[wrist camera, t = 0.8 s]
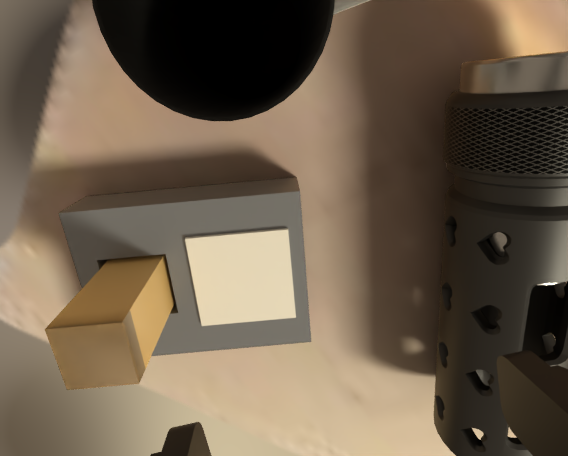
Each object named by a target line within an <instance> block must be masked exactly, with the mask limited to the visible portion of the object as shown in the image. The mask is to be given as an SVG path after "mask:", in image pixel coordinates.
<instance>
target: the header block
mask: <svg viewBox="0 0 568 456" xmlns="http://www.w3.org/2000/svg"><path fill="white" fill-rule="evenodd" d="M59 216H60V220H61V223H62V226H63V229H64V232H65V236H66V239H67V242H68V245H69V248H70V252H71V255H72V258H73V261H74V264H75V268H76V271H77V274H78V277H79V281H80V284H81V287H82V288H83V287H84V286H85V285H86V284H87V283H88V282H89V281H90V280H91V278H92V277H93V276H94V275H95V274H96V273H97V272H98V271H99V270H100V269H101V268H102V266H103V265H104V264H105V263H106V262H107V261H108V260H109V259H116V258H127V257H138V256H149V255H160V254H166V258H167V263H168V267H169V272H170V277H171V281H172V286H173V291H174V295H175V300H176V301H175V303H174V305H173V308H172V310H171V312H170V314H169V317H168V319H167V321H166V323H165V326H164V328H163V330H162V333H161V335H160V337H159V339H158V342H157V344H156V346H155V348H154V351H153V353H152V355H151V356H158V355H169V354H181V353H192V352H203V351H214V350H225V349H237V348H248V347H259V346H270V345H281V344H293V343H304V342H311V332H310V319H309V305H308V292H307V278H306V265H305V252H304V238H303V225H302V211H301V198H300V189H299V185H298V181H297V177H292V178H281V179H270V180H259V181H248V182H237V183H226V184H215V185H204V186H194V187H183V188H172V189H161V190H150V191H139V192H128V193H117V194H106V195H95V196H86V197H84V198H82V199H81V200H79V201H78V202H76V203H74V204H73V205H71V206H70V207H68V208H66V209H65V210H63V211H61V212H60V213H59Z"/></svg>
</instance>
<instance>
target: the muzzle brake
mask: <svg viewBox="0 0 568 456" xmlns="http://www.w3.org/2000/svg"><path fill="white" fill-rule="evenodd" d="M443 159H444V161H445V162H446V163H447V169H448V171H449V172H451V173H452V174H454V175H455V181H454V184H453V185H452V186H451V187H450V188H449V189H448V190H447V193H446V195H445V216H444V235H443V253H442V272H441V290H440V309H439V327H438V346H437V364H436V382H435V401H434V424H435V426H436V429H437V432H438V434H439V435H440V437H441V439H442V441H443V442H444V443H445V444H446V446H447V447H448V448H449V449H450V450H451V451H452V452H453V453H454V454H455V455H456V456H533V455H532V454H531V453H530V452H529V451H528V450H527V448H526V447H525V446H524V445H523V444H522V443H521V441H520V440H519V439H518V438H510V437H508V436H507V435H508V428H509V426H508V424H507V422H506V420H505V417H504V415H503V412H502V408H501V401H500V391H499V382H498V373H497V358H498V357H499V356H502V355H506V354H511V353H515V352H520V351H524V350H530V351H532V352H533V353H535V354H536V355H537V356H538V357H540V358H541V359H542V360H543V361H545V362H546V363H547V364H549V365H550V366H555V365H559V366H561V367H564V368H566V369H568V51H566V52H556V53H546V54H536V55H526V56H517V57H507V58H497V59H488V60H478V61H469V62H464V63H462V65H461V73H460V89H459V90H458V91H455V92H453V93H452V94H451V95H450V97H449V99H448V100H447V102H446V105H445V125H444V146H443ZM566 282H567V284H566ZM553 335H554V336H553ZM554 337H555V338H554ZM555 339H556V341H555ZM472 428H476V429H479V430H481V431H482V432H483V433H484V435H483V436H482V438H481V440H482V441H481V440H479V439H478V438H477V437H476V435H475V433H474V432H473V430H472Z"/></svg>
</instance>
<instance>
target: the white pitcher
mask: <svg viewBox="0 0 568 456" xmlns="http://www.w3.org/2000/svg"><path fill="white" fill-rule="evenodd" d="M367 1H370V0H92V2H93V8H94V11H95V15H96V18H97V21H98V24H99V27H100V31H101V33H102V35H103V37H104V39H105V41H106V43H107V45H108V47H109V49H110V51H111V53H112V55H113V56H114V58H115V59H116V61H117V62H118V63H119V65H120V66H121V68H122V69H123V71H124V72H125V73H126V74H127V75H128V76H129V77H130V79H131V80H132V81H133V82H134V83H135V84H136V85H137V86H138V87H139V88H140V89H141V90H143V91H144V92H145V93H146V94H148V95H149V96H150V97H151V98H153V99H154V100H155V101H157V102H159V103H160V104H162V105H164V106H166V107H167V108H169V109H171V110H173V111H175V112H178V113H181V114H183V115H186V116H189V117H192V118H197V119H203V120H208V121H234V120H239V119H244V118H249V117H252V116H255V115H257V114H260V113H262V112H265V111H268V110H269V109H271V108H273V107H274V106H276V105H277V104H279V103H281V102H282V101H284V100H285V99H286V98H287V97H289V96H290V95H291V94H292V93H293V92H294V91H295V90H296V89H297V88H299V87H300V85H301V84H302V83H303V82H304V80H305V79H306V78H307V77H308V75H309V74H310V73H311V71H312V70H313V68H314V66H315V65H316V63H317V61H318V59H319V57H320V55H321V54H322V52H323V49H324V46H325V43H326V41H327V38H328V35H329V32H330V28H331V23H332V18H333V15H334V14H336V13H339V12H342V11H344V10H347V9H349V8H352V7H355V6H357V5H360V4H362V3H365V2H367Z"/></svg>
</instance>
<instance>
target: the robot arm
mask: <svg viewBox="0 0 568 456" xmlns="http://www.w3.org/2000/svg"><path fill="white" fill-rule="evenodd" d="M497 373H498V382H499V391H500V401H501V408H502V412H503V415H504V417H505V420H506V422H507V424H508V426H509V427H510V429H511V430H512V432H513V433H514V434H515V435H516V437H517V438H518V439H519V440H520V441H521V443H522V444H523V445H524V446H525V447H526V448H527V450H528V451H529V452H530V453H531V454H532V455H533V456H568V369H566V368H564V367H561V366H559V365H555V366H550V365H549V364H547V363H546V362H545V361H543V360H542V359H541V358H540V357H538V356H537V355H536V354H535V353H533V352H532V351H530V350H524V351H520V352H515V353H511V354H506V355H502V356H499V357H498V358H497ZM151 456H211V453H210V450H209V447H208V443H207V440H206V437H205V434H204V430H203V428H202V425H201V424H200V423H199V422H196V423H192V424H187V425H183V426H178V427H173V428H171V429H170V430H169V432H168V434H167V437H166V440H165V443H164V446H163V449H162V452H158V453H154V454H151Z"/></svg>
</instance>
